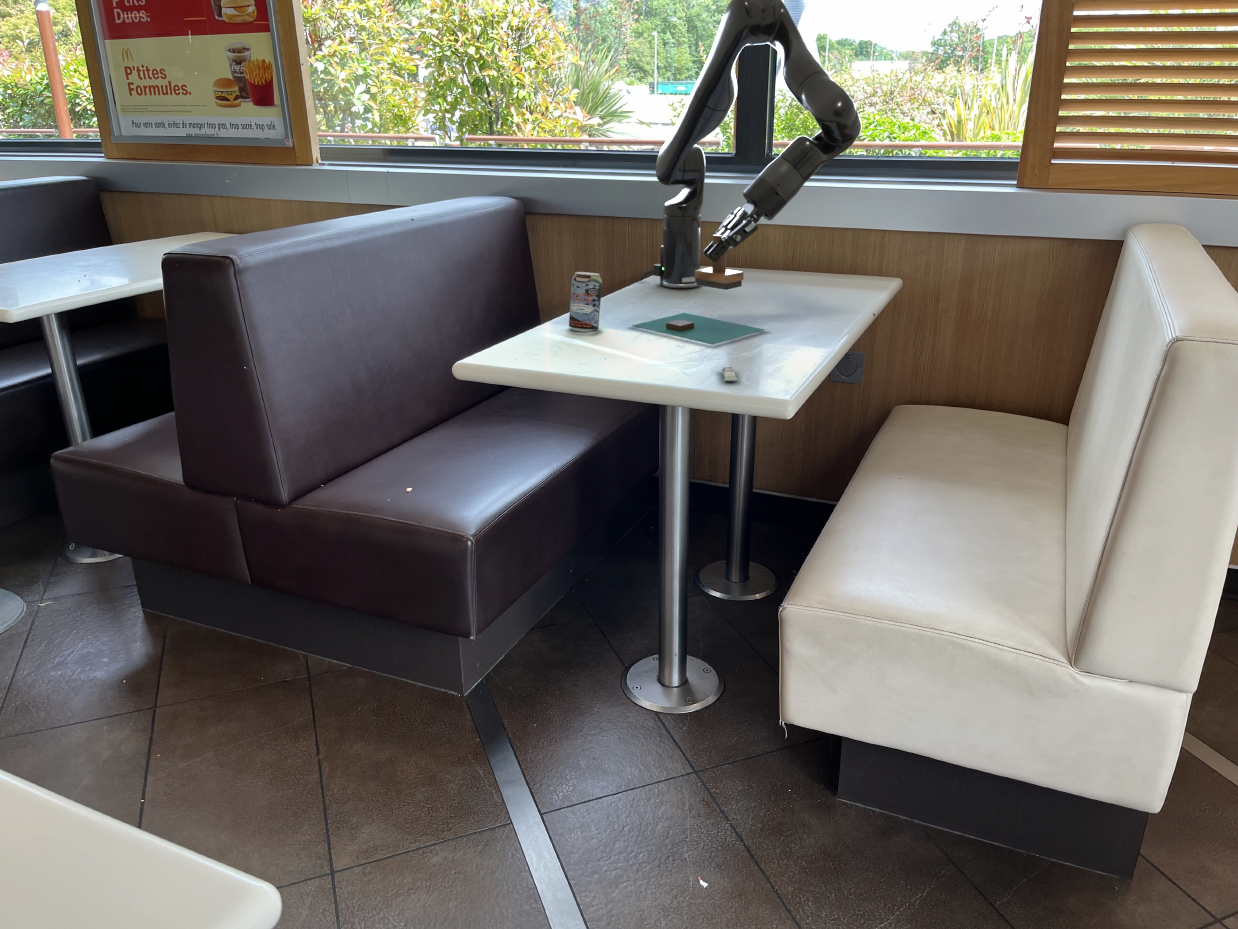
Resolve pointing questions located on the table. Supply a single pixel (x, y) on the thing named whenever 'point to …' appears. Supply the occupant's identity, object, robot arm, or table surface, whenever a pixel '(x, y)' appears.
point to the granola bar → (729, 374)
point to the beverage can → (585, 301)
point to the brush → (719, 273)
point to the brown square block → (680, 325)
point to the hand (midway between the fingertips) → (708, 257)
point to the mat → (701, 328)
